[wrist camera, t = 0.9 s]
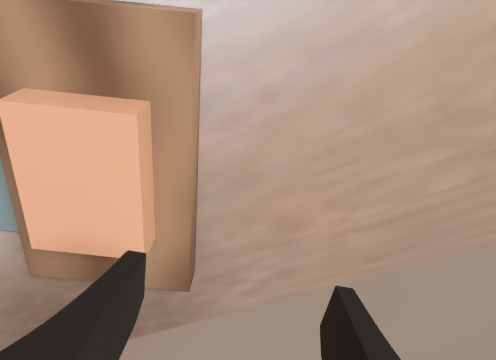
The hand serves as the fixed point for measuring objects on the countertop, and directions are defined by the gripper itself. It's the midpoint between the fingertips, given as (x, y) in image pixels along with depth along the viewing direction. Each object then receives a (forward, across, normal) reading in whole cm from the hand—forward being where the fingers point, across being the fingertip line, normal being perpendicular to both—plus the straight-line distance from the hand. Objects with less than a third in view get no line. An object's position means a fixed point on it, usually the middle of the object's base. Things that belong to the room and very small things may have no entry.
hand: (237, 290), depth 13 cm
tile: (+7, +8, +1) cm, 11 cm away
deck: (+9, +8, +1) cm, 12 cm away
